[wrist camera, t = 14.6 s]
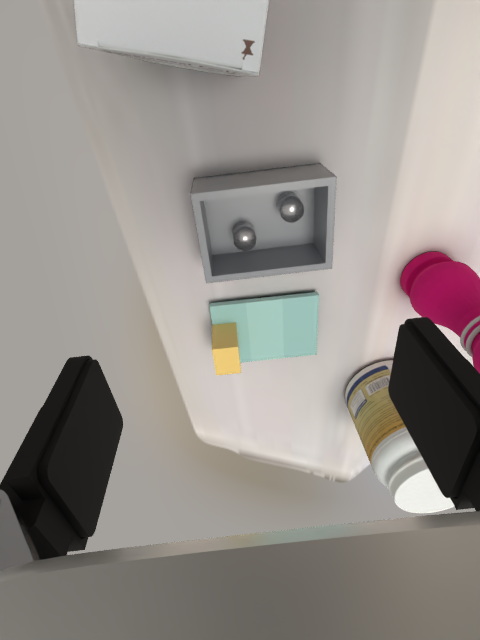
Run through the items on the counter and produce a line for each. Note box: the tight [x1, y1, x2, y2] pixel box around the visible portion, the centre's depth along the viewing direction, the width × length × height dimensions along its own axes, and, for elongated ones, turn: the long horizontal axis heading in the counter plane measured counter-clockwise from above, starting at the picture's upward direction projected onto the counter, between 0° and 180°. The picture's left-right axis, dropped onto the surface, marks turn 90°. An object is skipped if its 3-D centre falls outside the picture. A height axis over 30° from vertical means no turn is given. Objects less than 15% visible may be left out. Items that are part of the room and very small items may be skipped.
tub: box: [191, 163, 337, 283], centre depth 37 cm, size 13×9×6 cm
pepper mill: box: [401, 252, 480, 373], centre depth 36 cm, size 7×7×20 cm
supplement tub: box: [345, 360, 454, 513], centre depth 48 cm, size 12×12×17 cm
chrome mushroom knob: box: [277, 192, 304, 223], centre depth 37 cm, size 2×2×2 cm
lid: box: [209, 292, 319, 375], centre depth 45 cm, size 13×9×7 cm
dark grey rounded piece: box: [233, 221, 256, 251], centre depth 38 cm, size 2×2×2 cm
